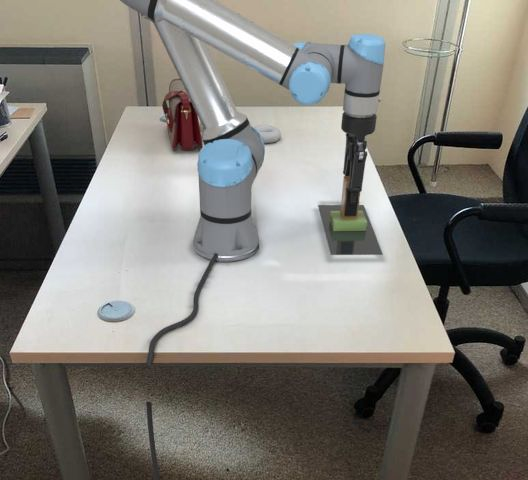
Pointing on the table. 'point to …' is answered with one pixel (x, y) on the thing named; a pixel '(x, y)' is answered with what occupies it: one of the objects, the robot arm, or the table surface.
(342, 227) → the scrub brush
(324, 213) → the slate
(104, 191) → the table surface
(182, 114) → the handbag
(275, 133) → the donut
